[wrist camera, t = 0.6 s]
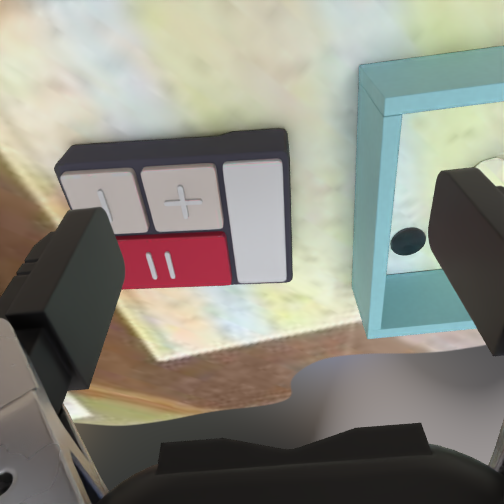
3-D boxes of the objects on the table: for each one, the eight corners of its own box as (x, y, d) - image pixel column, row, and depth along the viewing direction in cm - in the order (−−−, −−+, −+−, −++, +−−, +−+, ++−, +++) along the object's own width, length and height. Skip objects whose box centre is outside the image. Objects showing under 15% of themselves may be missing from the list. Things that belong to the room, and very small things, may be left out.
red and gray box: (45, 170, 26) (290, 156, 25) (70, 140, 30) (287, 127, 29) (99, 297, 33) (293, 290, 32) (115, 261, 37) (291, 254, 35)
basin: (359, 64, 26) (384, 98, 22) (682, 21, 25) (782, 46, 21) (351, 286, 38) (367, 339, 34) (571, 263, 37) (619, 314, 32)
